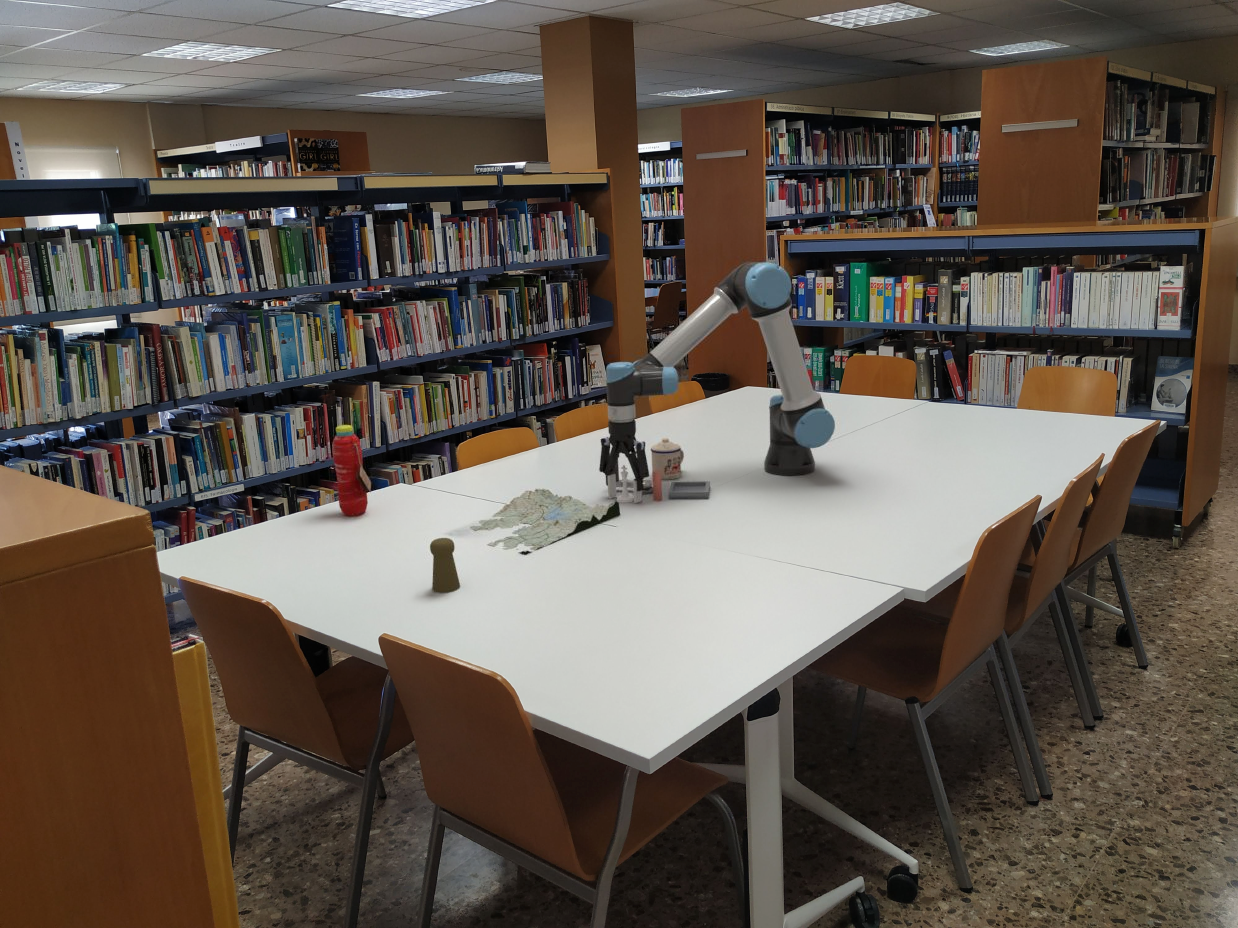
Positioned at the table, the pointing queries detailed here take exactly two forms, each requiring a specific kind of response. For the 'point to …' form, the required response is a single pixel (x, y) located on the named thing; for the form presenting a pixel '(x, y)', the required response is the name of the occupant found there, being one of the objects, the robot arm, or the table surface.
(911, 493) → the table surface
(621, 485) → the crank arm
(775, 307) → the robot arm
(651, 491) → the crank base
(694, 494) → the tray
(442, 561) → the cork
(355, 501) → the water bottle
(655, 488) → the post
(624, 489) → the chess piece
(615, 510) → the topographic map model
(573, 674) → the table surface
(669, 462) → the teacup with lid
